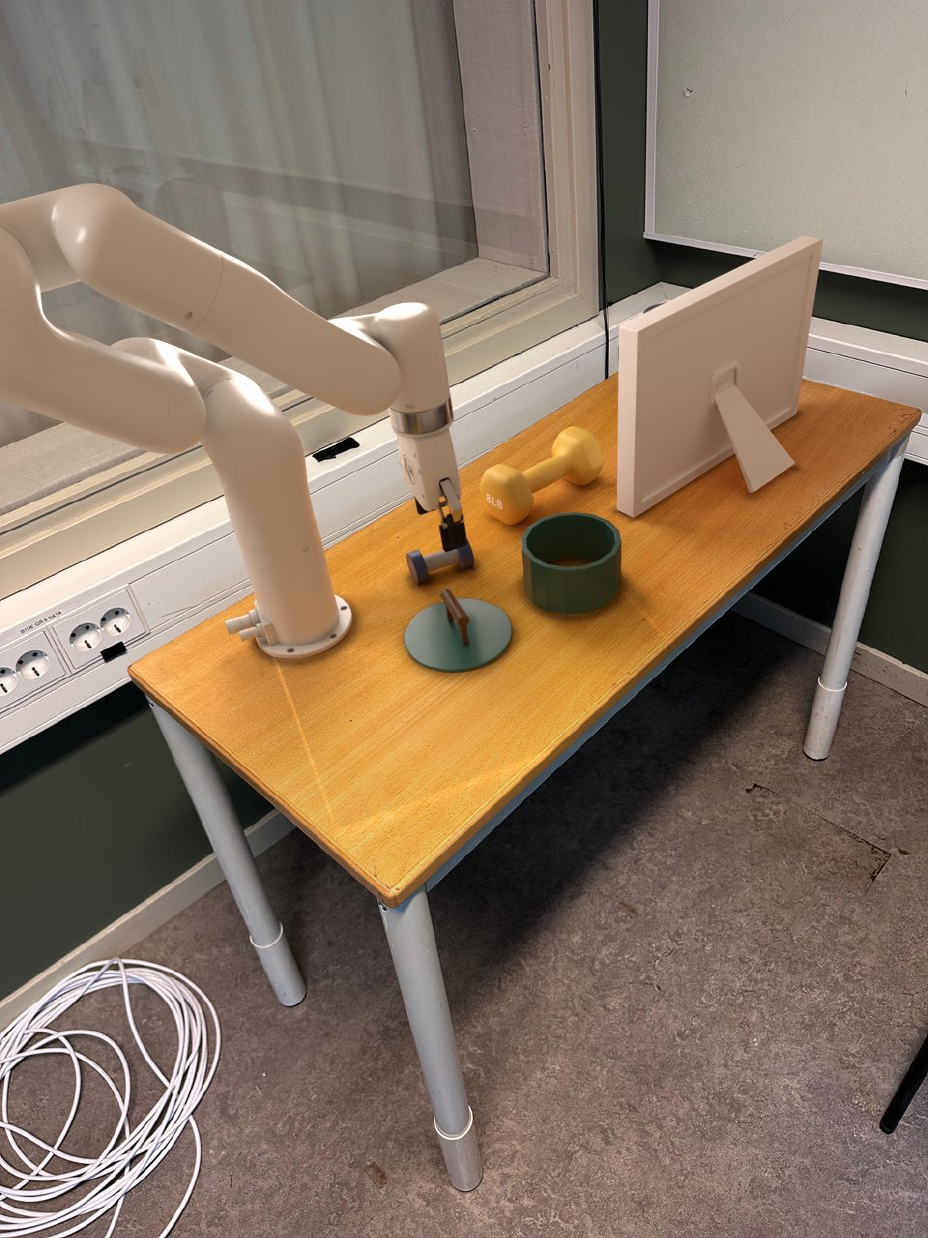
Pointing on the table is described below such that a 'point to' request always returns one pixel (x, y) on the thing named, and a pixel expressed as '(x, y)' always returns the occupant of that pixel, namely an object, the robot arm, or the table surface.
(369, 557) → the table surface
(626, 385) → the picture frame
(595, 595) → the pot
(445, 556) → the toy dumbbell
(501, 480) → the dumbbell
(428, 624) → the lid
